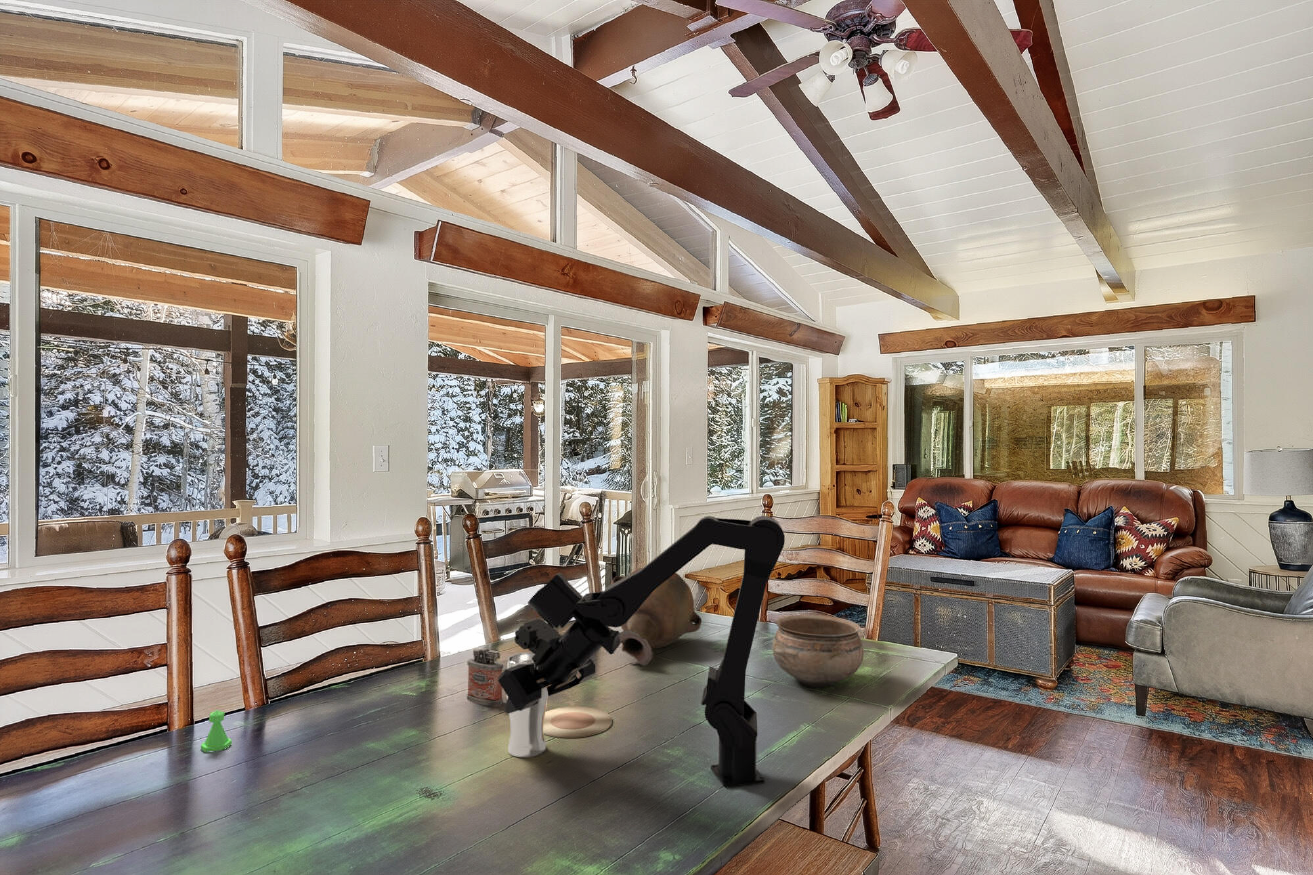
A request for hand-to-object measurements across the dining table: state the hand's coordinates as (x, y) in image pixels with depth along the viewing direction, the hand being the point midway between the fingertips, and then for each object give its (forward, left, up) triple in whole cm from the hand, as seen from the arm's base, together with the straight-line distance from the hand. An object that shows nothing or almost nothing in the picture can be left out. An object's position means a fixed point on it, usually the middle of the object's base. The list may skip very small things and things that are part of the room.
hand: (520, 704), depth 120 cm
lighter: (+24, +5, -7) cm, 26 cm away
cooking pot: (+19, -64, -7) cm, 67 cm away
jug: (+50, -35, -7) cm, 61 cm away
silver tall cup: (-1, -1, -7) cm, 7 cm away
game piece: (+12, +48, -7) cm, 50 cm away
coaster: (+9, -10, -7) cm, 15 cm away
